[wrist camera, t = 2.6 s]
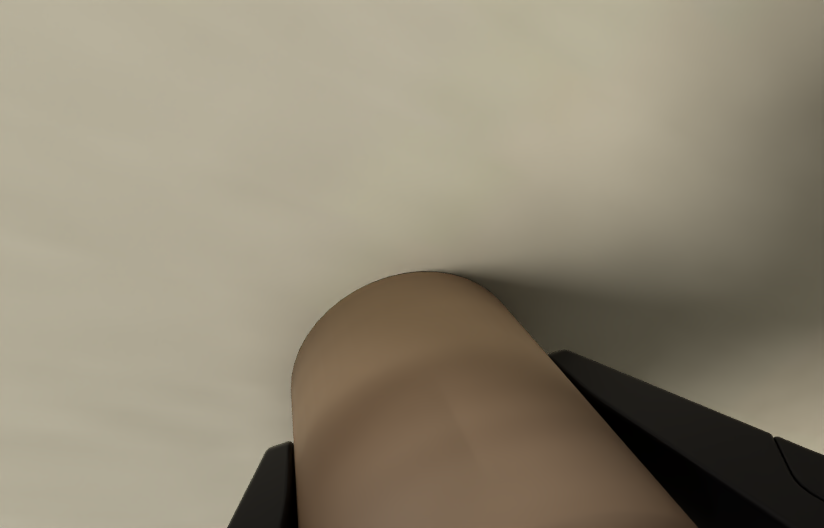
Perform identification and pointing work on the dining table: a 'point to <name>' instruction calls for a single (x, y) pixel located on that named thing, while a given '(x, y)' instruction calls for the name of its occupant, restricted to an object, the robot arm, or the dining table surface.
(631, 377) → the robot arm
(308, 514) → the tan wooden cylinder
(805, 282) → the dining table surface
